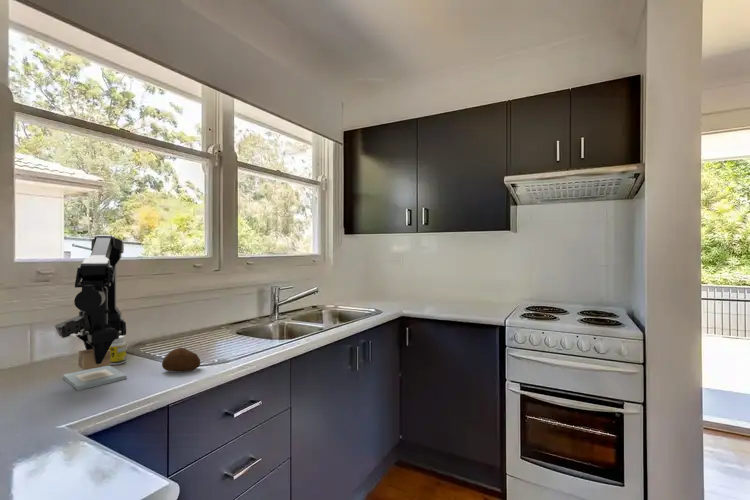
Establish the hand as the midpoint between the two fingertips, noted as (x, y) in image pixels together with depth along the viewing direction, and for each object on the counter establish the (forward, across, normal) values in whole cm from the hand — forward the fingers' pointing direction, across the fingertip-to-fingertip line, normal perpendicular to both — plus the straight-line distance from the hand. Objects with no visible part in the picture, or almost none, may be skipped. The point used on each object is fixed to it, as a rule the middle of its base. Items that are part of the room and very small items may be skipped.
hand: (94, 361), depth 104 cm
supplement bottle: (+5, -12, +9) cm, 16 cm away
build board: (+5, 0, 0) cm, 5 cm away
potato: (+5, +12, +18) cm, 22 cm away
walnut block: (+1, 0, 0) cm, 1 cm away
